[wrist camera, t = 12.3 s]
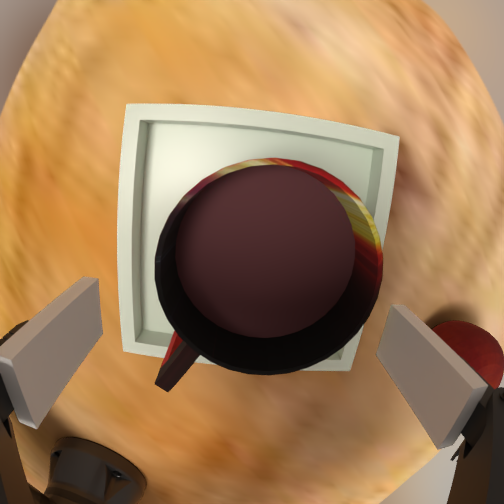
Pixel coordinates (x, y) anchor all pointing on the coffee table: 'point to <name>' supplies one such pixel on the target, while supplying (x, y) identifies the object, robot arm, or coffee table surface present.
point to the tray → (210, 161)
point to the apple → (474, 348)
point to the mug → (265, 269)
